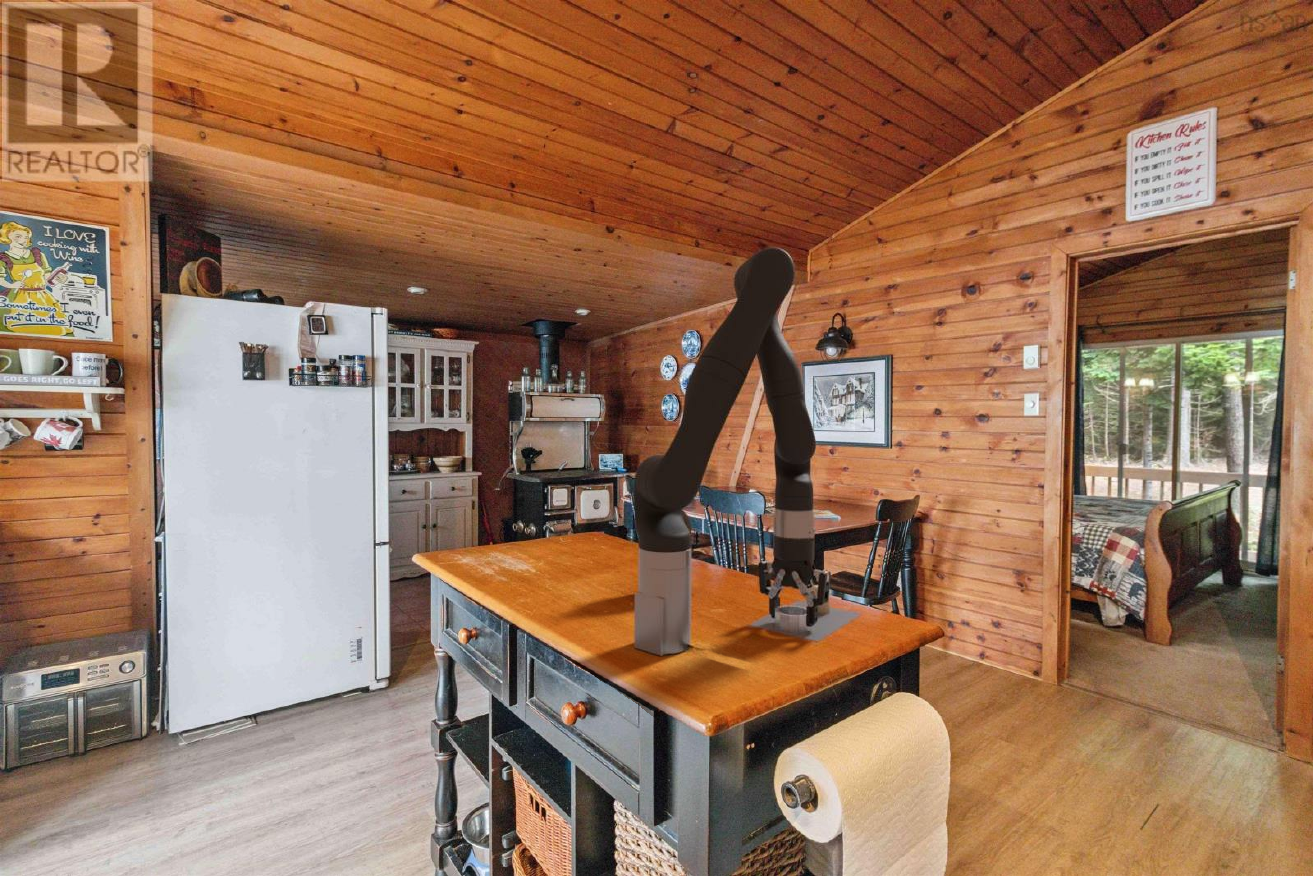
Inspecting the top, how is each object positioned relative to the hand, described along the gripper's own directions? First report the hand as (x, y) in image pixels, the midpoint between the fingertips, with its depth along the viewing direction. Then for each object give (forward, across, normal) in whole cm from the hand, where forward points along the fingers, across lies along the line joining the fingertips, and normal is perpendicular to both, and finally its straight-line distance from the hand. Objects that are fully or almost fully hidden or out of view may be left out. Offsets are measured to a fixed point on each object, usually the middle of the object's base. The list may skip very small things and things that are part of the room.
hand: (792, 621), depth 113 cm
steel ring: (+1, 0, 0) cm, 1 cm away
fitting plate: (+2, 0, +6) cm, 6 cm away
